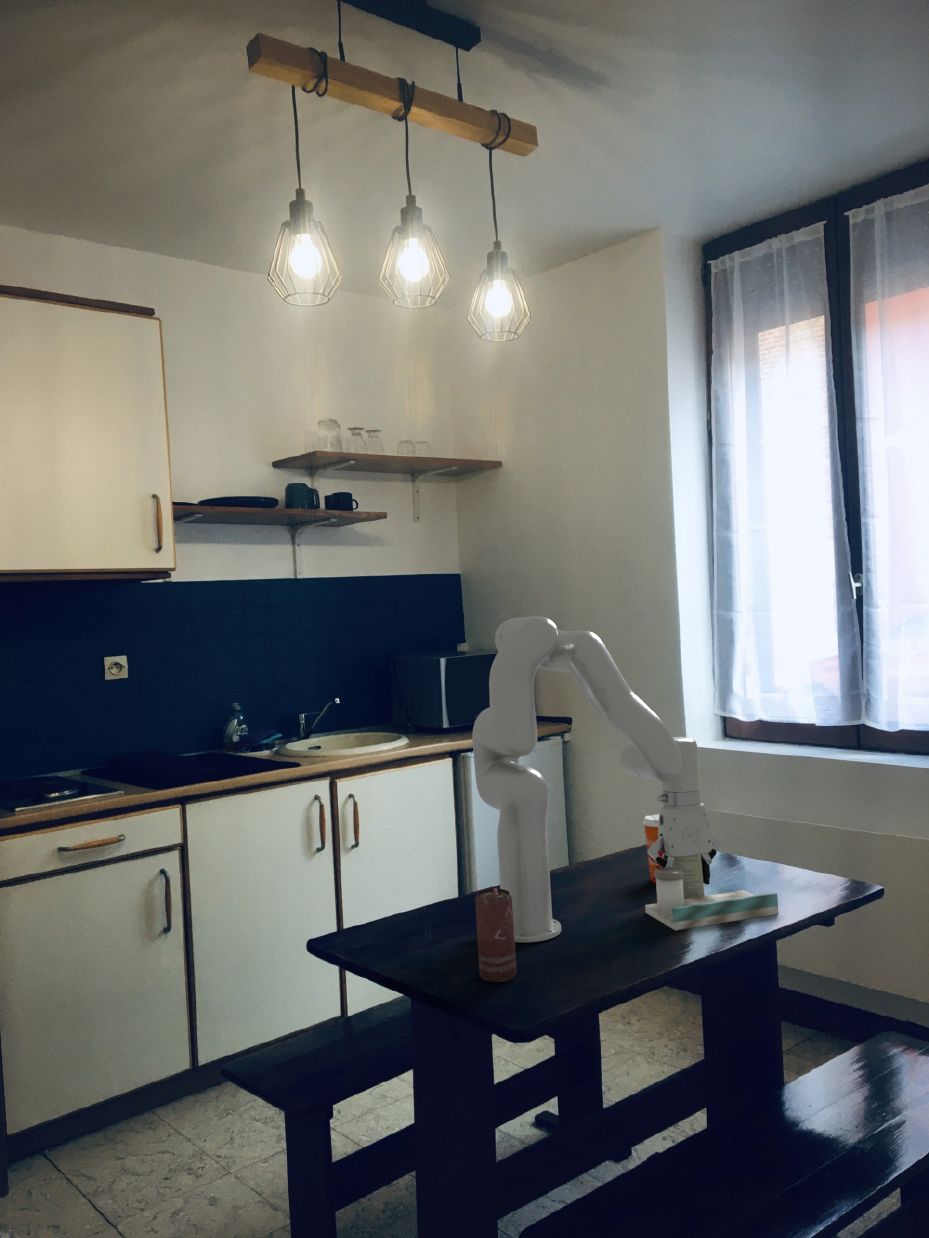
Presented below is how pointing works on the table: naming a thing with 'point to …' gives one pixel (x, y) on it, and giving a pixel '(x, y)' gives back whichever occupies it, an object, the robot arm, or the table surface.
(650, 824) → the paper cup
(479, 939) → the can
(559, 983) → the table surface
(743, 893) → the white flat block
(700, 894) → the skincare box
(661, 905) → the cream jar
